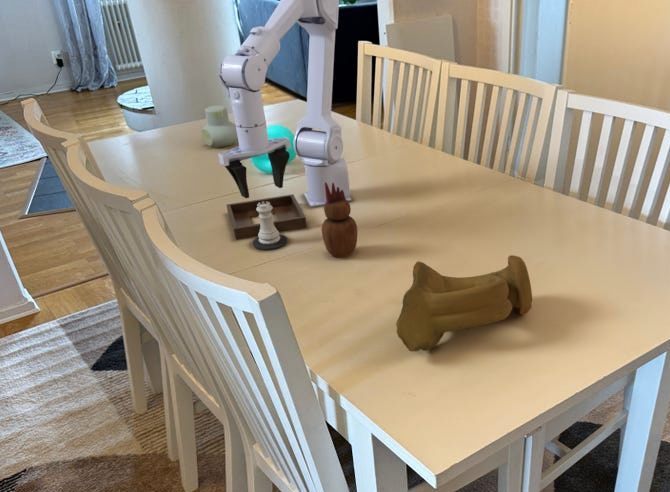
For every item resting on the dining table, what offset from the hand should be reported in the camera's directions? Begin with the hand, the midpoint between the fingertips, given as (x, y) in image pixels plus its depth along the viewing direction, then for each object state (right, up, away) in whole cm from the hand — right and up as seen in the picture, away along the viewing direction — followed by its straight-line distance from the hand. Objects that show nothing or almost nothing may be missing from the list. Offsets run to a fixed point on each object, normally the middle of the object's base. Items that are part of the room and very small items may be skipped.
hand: (262, 191), depth 138 cm
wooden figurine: (+16, -13, -3) cm, 21 cm away
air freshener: (-24, +27, +55) cm, 66 cm away
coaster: (+1, -10, +2) cm, 10 cm away
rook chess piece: (+1, -10, +2) cm, 10 cm away
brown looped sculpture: (+39, -29, -26) cm, 55 cm away
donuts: (-5, +15, +38) cm, 41 cm away
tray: (-2, -4, +11) cm, 12 cm away
